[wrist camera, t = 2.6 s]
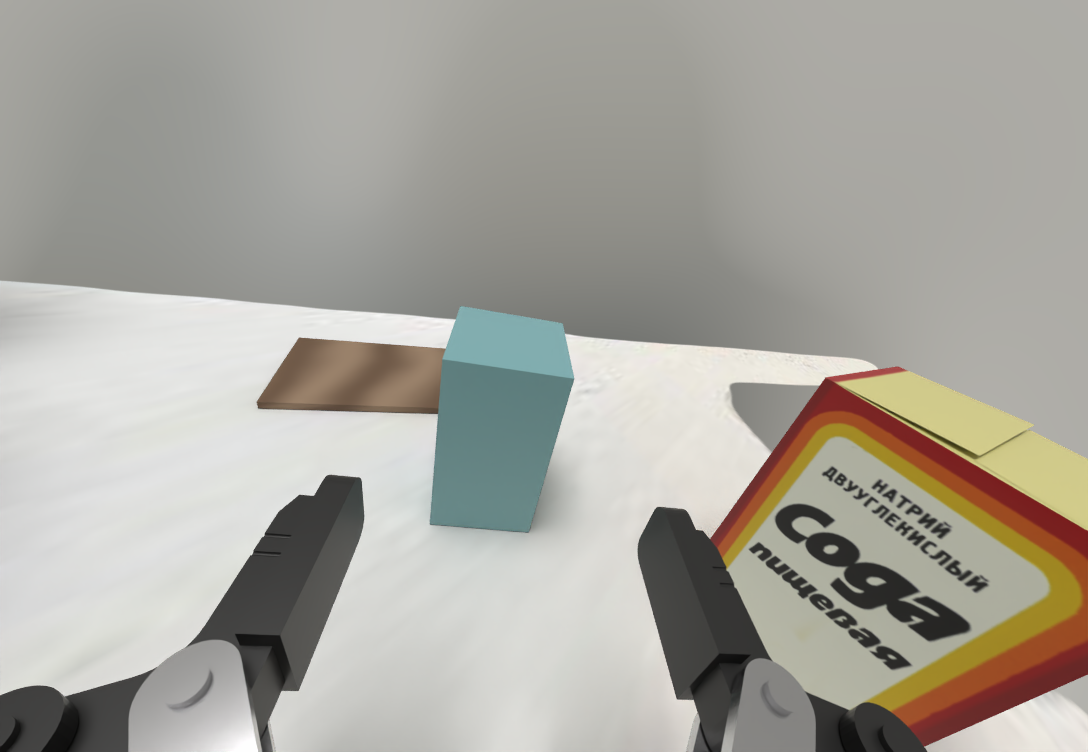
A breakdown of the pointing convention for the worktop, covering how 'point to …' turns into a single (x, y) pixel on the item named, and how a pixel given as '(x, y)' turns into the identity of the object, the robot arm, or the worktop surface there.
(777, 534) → the baking soda box
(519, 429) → the tall teal block
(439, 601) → the worktop surface
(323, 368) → the mat
